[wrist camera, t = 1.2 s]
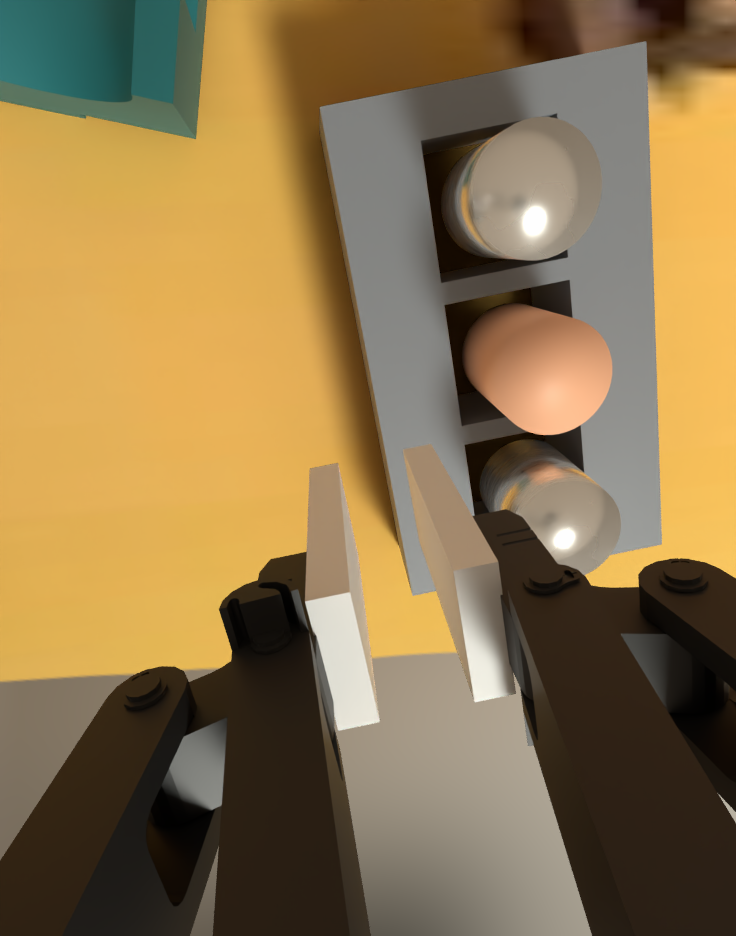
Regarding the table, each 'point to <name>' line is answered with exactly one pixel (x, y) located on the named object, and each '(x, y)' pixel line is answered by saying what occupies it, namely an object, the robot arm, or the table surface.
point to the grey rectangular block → (500, 275)
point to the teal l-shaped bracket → (106, 59)
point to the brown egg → (538, 367)
